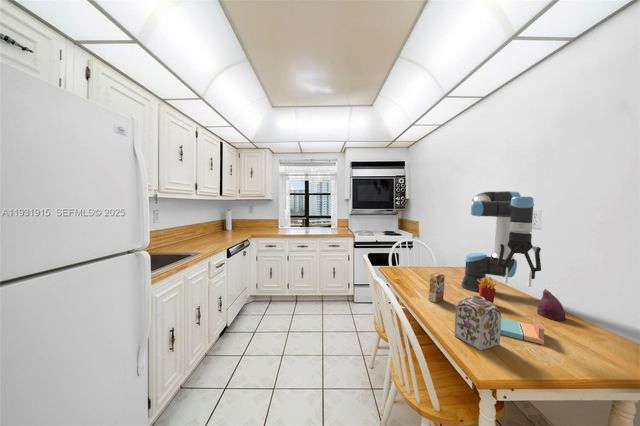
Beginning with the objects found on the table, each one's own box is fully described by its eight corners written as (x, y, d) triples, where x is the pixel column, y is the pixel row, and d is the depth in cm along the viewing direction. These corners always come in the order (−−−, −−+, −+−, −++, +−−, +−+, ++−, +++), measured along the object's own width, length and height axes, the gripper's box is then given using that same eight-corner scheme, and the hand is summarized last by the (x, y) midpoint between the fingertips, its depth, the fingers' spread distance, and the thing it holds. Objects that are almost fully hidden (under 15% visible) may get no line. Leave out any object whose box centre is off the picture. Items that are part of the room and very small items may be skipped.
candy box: (435, 303, 135) (436, 276, 134) (428, 300, 138) (429, 274, 138) (444, 299, 140) (445, 273, 139) (437, 297, 143) (438, 272, 142)
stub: (519, 325, 110) (520, 313, 110) (537, 329, 107) (537, 317, 107) (524, 339, 99) (525, 325, 98) (543, 344, 95) (544, 330, 95)
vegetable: (538, 322, 121) (530, 293, 122) (538, 313, 129) (530, 285, 129) (567, 324, 114) (558, 294, 114) (566, 315, 121) (557, 286, 122)
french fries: (495, 307, 131) (496, 280, 130) (477, 304, 133) (479, 278, 133) (489, 301, 139) (491, 275, 138) (473, 299, 142) (474, 273, 141)
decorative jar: (453, 335, 101) (455, 293, 100) (471, 330, 106) (473, 290, 105) (482, 352, 90) (484, 305, 89) (501, 345, 95) (503, 300, 94)
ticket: (486, 318, 117) (487, 314, 117) (518, 325, 111) (518, 321, 110) (487, 330, 106) (487, 326, 106) (523, 339, 99) (523, 335, 99)
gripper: (492, 230, 107) (489, 281, 107) (554, 235, 95) (550, 291, 96) (491, 229, 113) (489, 277, 114) (549, 233, 102) (546, 286, 103)
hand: (517, 284), depth 105 cm, fingers open, 7 cm apart
